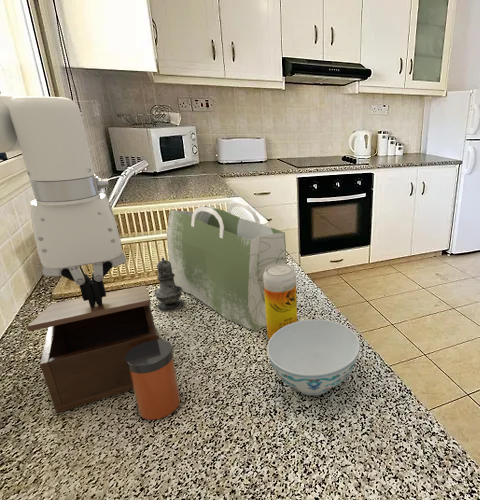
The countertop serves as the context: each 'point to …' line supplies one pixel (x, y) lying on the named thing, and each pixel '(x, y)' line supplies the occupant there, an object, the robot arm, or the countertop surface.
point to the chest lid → (90, 308)
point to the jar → (153, 378)
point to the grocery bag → (224, 260)
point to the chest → (93, 356)
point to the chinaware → (313, 354)
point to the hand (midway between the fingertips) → (96, 301)
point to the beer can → (280, 297)
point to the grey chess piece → (167, 288)
